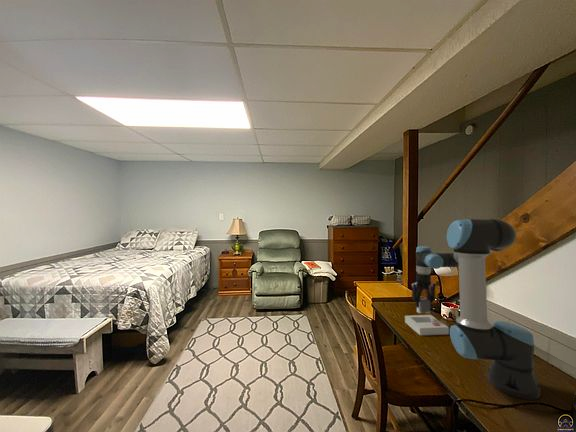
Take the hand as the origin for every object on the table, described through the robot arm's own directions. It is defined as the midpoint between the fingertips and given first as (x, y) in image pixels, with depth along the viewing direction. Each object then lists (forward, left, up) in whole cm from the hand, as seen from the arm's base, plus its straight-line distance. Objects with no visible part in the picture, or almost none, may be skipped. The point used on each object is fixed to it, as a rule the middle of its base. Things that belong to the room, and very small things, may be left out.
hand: (423, 312), depth 145 cm
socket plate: (-2, 0, -8) cm, 9 cm away
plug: (0, 0, 0) cm, 0 cm away
